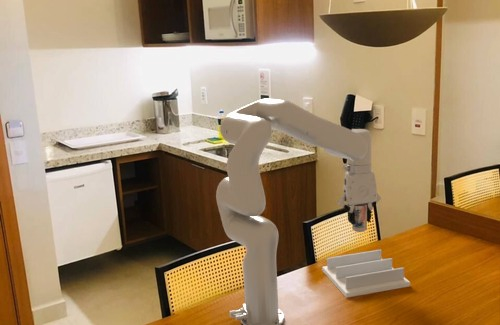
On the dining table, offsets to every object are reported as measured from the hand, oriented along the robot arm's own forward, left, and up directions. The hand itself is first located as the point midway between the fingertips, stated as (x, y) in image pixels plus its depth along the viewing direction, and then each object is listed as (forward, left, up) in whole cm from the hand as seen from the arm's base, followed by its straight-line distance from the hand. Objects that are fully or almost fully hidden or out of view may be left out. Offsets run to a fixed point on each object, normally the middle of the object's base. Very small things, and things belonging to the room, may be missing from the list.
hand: (359, 221), depth 170 cm
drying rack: (+1, -2, -20) cm, 20 cm away
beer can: (0, 0, -3) cm, 3 cm away
